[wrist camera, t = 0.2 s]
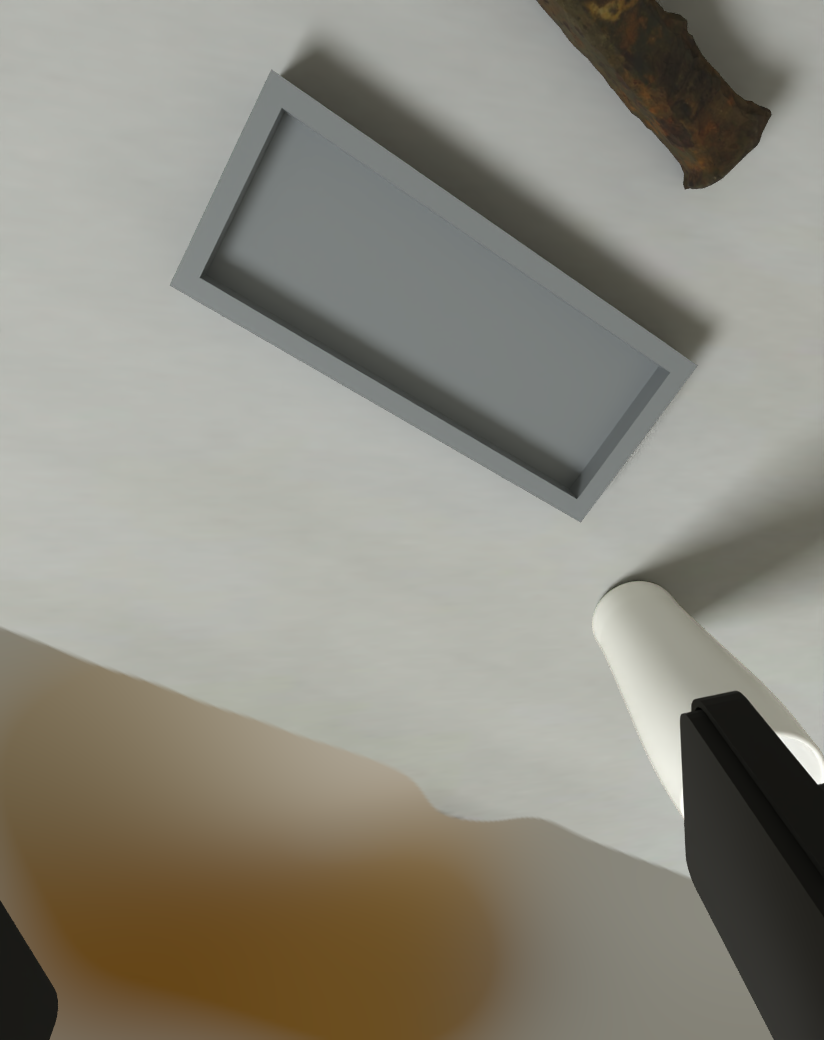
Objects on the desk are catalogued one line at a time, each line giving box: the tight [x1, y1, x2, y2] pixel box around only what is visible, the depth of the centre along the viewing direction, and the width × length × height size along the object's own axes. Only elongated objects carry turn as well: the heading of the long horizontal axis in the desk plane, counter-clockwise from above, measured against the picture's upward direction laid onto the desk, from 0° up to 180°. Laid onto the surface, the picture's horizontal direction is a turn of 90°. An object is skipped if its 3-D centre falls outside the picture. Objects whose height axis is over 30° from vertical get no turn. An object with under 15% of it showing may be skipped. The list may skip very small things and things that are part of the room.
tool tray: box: [170, 70, 698, 522], centre depth 36 cm, size 10×24×2 cm, turn 58°
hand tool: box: [537, 0, 772, 189], centre depth 30 cm, size 19×4×5 cm, turn 48°
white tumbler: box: [592, 581, 824, 819], centre depth 38 cm, size 7×7×15 cm
